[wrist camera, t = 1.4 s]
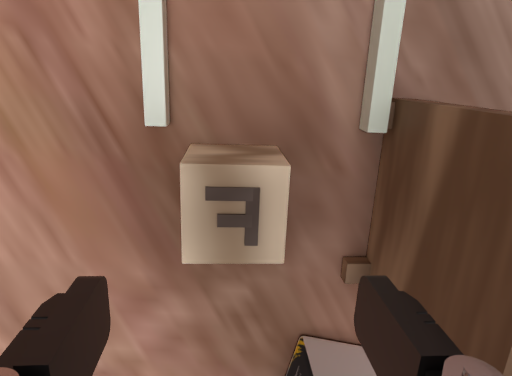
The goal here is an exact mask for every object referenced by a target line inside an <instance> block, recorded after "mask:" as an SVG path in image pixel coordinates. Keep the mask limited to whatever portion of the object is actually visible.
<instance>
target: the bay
mask: <svg viewBox="0 0 512 376" xmlns="http://www.w3.org/2000/svg"><path fill="white" fill-rule="evenodd" d="M138 2H139V21H140V41H141V60H142V80H143V99H144V119H145V126H167V125H168V124H170V106H169V73H168V41H167V8H166V0H138ZM405 5H406V0H375V3H374V12H373V20H372V28H371V36H370V44H369V52H368V60H367V68H366V76H365V84H364V93H363V101H362V109H361V117H360V125H359V129H361V130H363V131H365V132H371V133H387V127H388V121H389V114H390V107H391V100H392V93H393V87H394V80H395V73H396V66H397V59H398V52H399V46H400V39H401V32H402V25H403V18H404V11H405Z"/></svg>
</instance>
